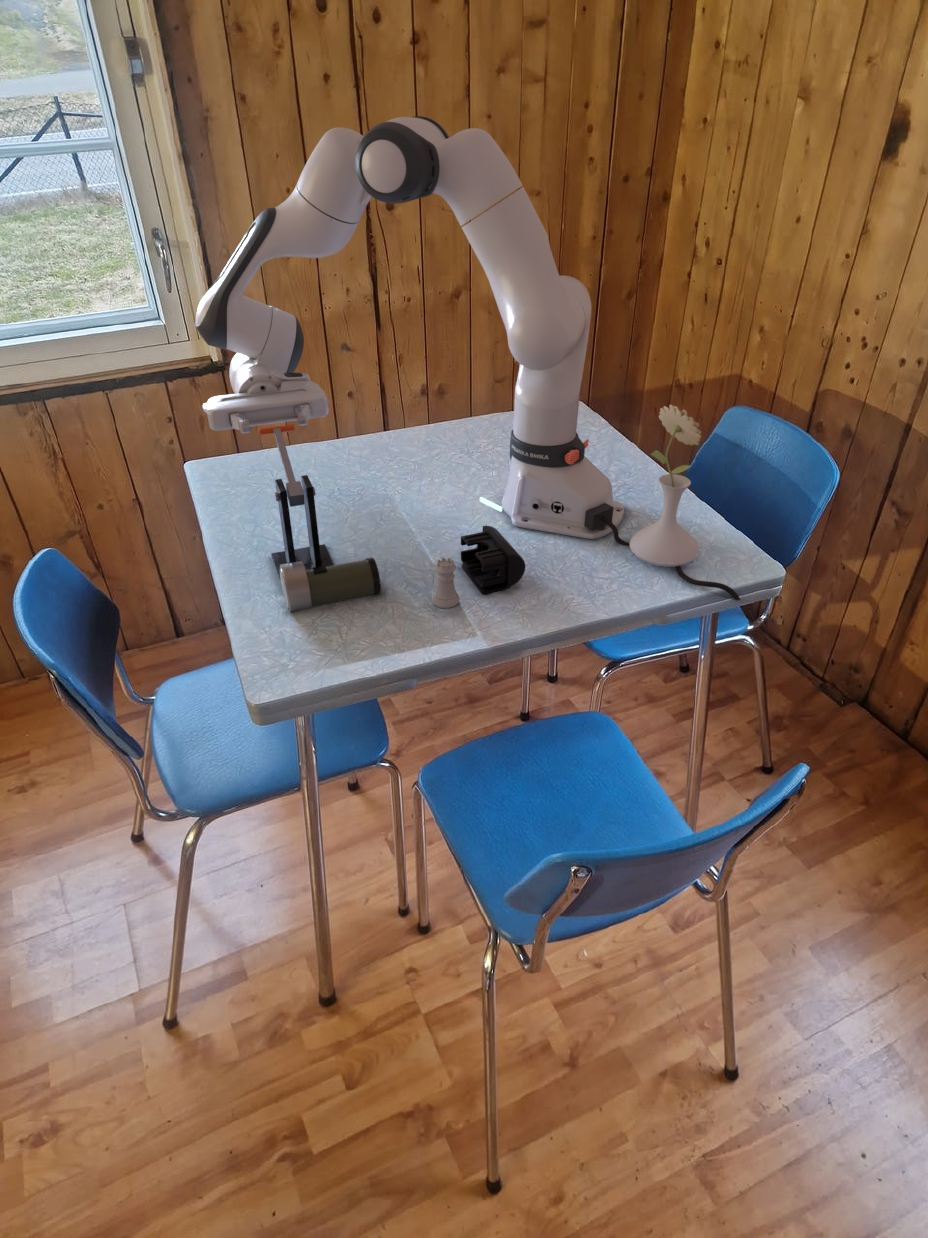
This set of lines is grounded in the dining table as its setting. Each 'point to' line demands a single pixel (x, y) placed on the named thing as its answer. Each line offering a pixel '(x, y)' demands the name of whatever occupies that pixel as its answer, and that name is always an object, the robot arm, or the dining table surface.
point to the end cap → (491, 561)
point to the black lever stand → (314, 553)
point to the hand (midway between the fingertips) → (274, 424)
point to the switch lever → (286, 464)
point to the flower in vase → (670, 502)
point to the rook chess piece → (445, 584)
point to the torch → (328, 583)
